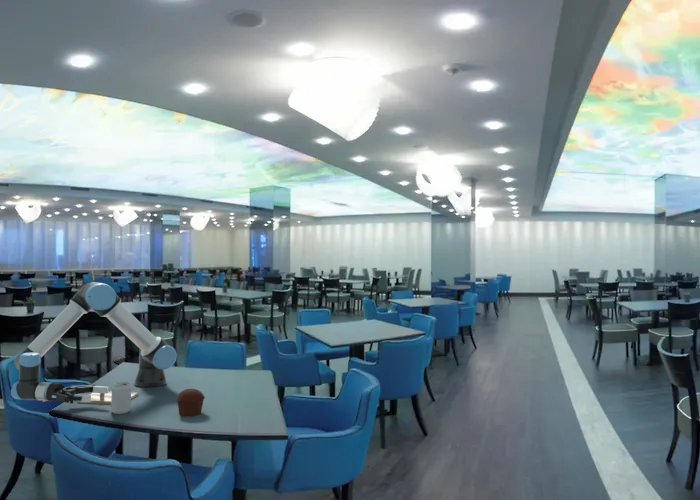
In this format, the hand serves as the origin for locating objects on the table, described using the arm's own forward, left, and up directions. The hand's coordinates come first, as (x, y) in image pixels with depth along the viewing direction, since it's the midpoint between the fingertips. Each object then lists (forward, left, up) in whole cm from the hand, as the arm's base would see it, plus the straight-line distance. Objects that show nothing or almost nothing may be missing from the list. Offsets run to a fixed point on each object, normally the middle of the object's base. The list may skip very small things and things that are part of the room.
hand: (99, 394), depth 215 cm
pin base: (-4, -18, -7) cm, 20 cm away
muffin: (-34, +17, -7) cm, 39 cm away
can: (-8, +5, -7) cm, 12 cm away
